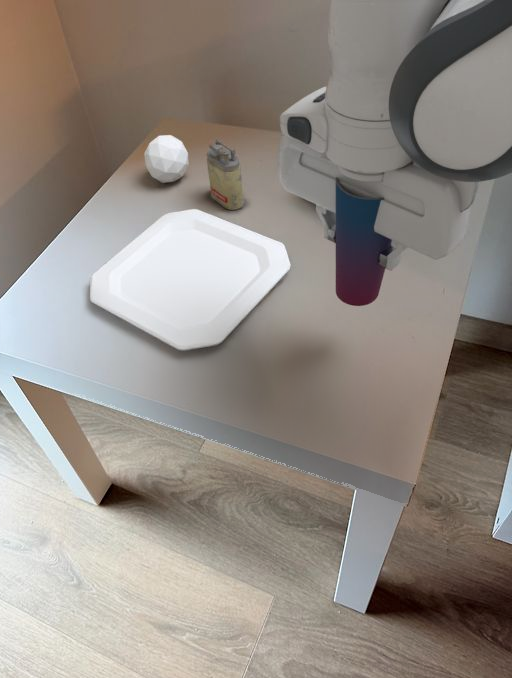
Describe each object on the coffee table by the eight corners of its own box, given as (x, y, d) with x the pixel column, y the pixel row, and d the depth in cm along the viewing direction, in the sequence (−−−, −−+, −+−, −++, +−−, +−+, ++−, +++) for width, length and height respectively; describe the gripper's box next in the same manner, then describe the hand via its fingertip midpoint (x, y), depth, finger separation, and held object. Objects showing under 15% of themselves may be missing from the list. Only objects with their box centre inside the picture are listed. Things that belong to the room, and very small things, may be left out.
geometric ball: (162, 195, 100) (128, 166, 95) (181, 159, 101) (148, 129, 96) (185, 189, 94) (150, 158, 89) (204, 151, 95) (171, 119, 90)
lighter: (207, 195, 94) (199, 140, 86) (224, 186, 95) (218, 131, 87) (232, 213, 90) (226, 158, 82) (249, 203, 91) (245, 148, 83)
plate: (76, 300, 81) (71, 289, 79) (180, 211, 92) (178, 200, 90) (203, 370, 71) (201, 360, 69) (304, 262, 81) (305, 250, 80)
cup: (393, 278, 64) (416, 163, 52) (377, 317, 61) (398, 204, 49) (338, 266, 66) (347, 153, 54) (320, 303, 63) (326, 192, 51)
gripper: (505, 148, 44) (463, 276, 55) (309, 83, 53) (307, 203, 65) (462, 185, 41) (427, 311, 52) (266, 111, 51) (272, 230, 62)
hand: (360, 251), depth 59 cm, fingers closed on cup, 6 cm apart
